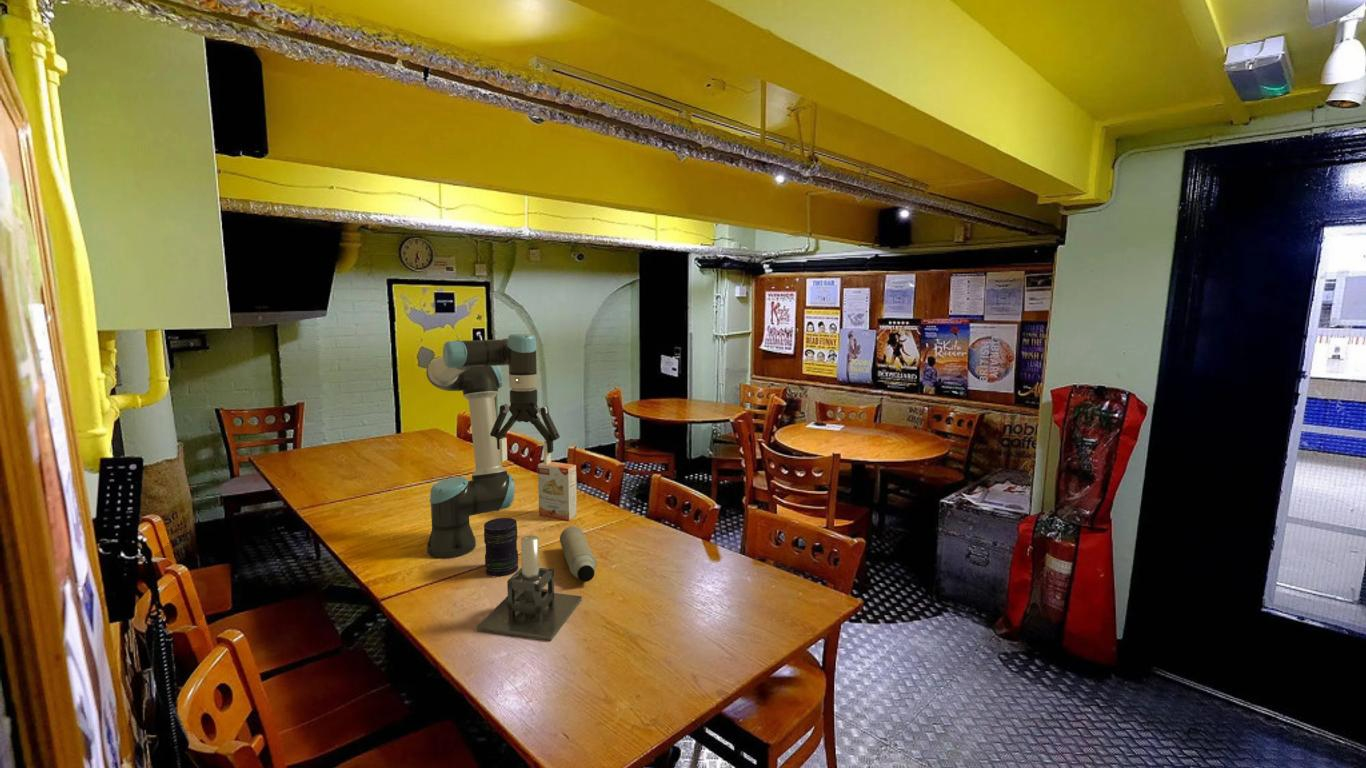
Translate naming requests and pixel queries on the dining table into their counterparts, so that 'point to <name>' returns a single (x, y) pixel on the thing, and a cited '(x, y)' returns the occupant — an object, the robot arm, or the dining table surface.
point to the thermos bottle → (578, 553)
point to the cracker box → (557, 490)
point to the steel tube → (530, 565)
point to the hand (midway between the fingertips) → (525, 462)
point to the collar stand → (531, 609)
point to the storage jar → (501, 547)
